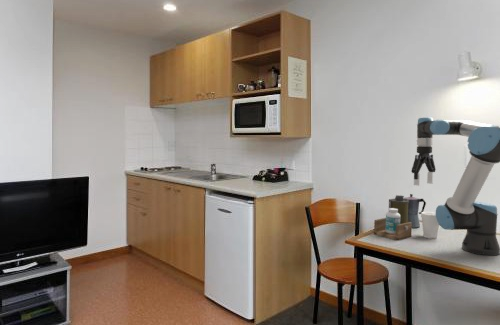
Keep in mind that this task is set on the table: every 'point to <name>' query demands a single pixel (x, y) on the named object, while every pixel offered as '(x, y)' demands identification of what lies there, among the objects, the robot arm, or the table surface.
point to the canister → (400, 207)
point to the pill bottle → (392, 220)
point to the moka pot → (414, 210)
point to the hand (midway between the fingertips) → (423, 184)
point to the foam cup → (429, 224)
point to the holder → (401, 229)
